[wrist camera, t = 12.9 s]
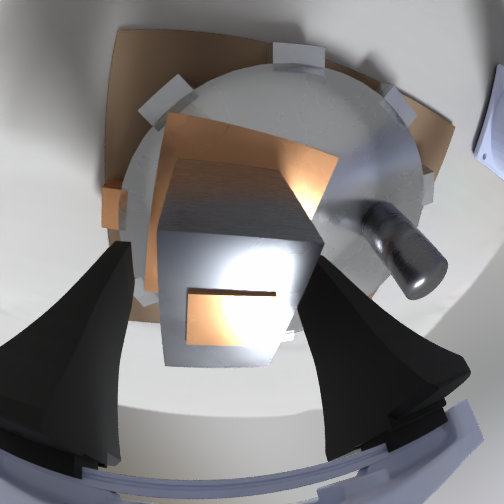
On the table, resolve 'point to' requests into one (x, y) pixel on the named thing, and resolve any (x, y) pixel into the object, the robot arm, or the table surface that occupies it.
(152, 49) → the walnut board
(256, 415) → the table surface
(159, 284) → the gray cube
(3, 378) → the robot arm
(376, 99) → the sprocket
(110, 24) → the table surface
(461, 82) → the table surface
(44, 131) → the table surface
